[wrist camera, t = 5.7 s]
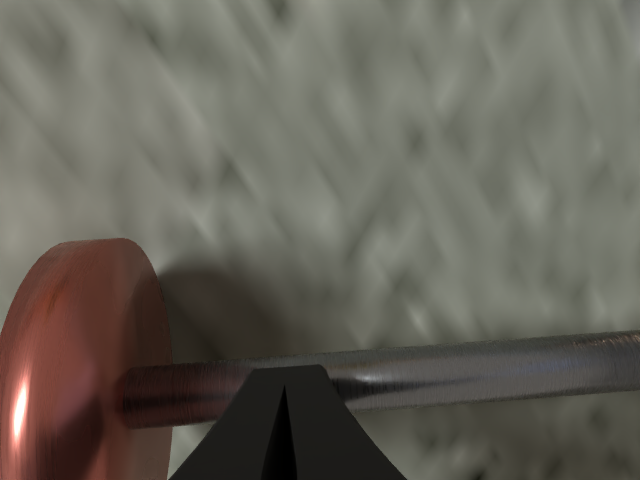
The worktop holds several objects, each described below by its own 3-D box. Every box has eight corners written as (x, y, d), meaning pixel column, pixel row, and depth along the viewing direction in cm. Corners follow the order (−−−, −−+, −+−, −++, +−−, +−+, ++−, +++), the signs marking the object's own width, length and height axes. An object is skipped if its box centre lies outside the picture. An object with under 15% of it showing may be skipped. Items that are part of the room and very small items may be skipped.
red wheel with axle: (637, 175, 13) (943, 255, 7) (610, 399, 15) (834, 619, 9) (58, 211, 13) (-164, 332, 6) (103, 439, 14) (-36, 702, 8)
